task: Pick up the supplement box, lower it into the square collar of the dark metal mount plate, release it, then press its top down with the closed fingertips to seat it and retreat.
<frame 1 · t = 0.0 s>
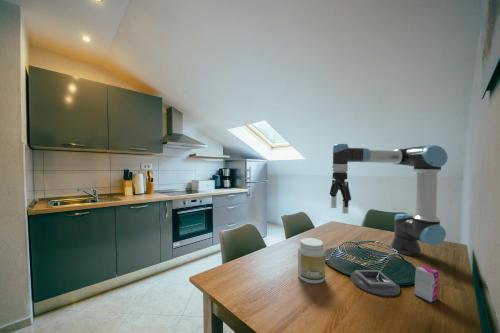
hand: (339, 210, 114), 28 cm above the table, fingers open, 13 cm apart
supplement box: (426, 297, 83), on the table
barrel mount: (374, 283, 93), on the table
supplement tub: (311, 277, 97), on the table
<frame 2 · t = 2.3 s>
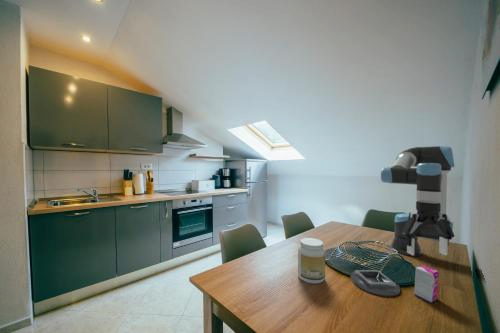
hand: (426, 254, 83), 18 cm above the table, fingers open, 13 cm apart
nothing on the table moved.
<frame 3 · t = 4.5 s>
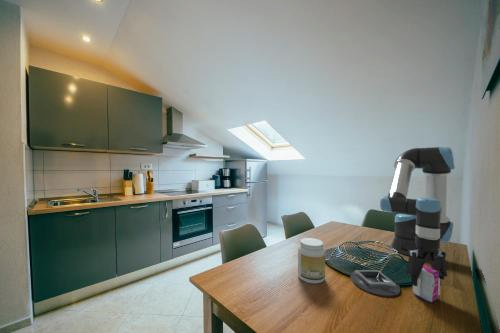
hand: (426, 293, 83), 2 cm above the table, fingers closed on supplement box, 7 cm apart
supplement box: (426, 297, 83), on the table, touching gripper
everything else where it was.
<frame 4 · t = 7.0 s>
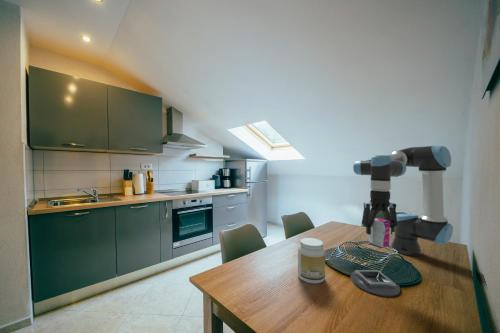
hand: (379, 241, 92), 19 cm above the table, fingers closed on supplement box, 7 cm apart
supplement box: (379, 245, 92), point 17 cm above the table, touching gripper
everything else where it was.
when the fingers open (4 cm above the table, at t = 9.9 s): supplement box stays where it is, resting on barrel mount.
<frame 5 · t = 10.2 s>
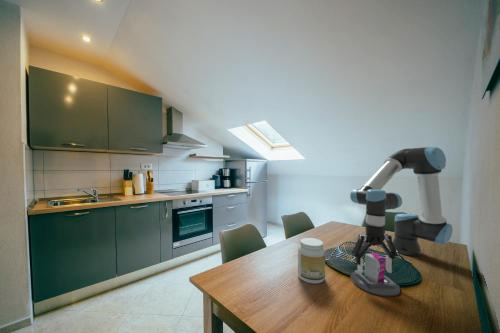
hand: (374, 271, 93), 5 cm above the table, fingers open, 12 cm apart
supplement box: (374, 281, 93), point 1 cm above the table, touching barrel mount
everything else where it was.
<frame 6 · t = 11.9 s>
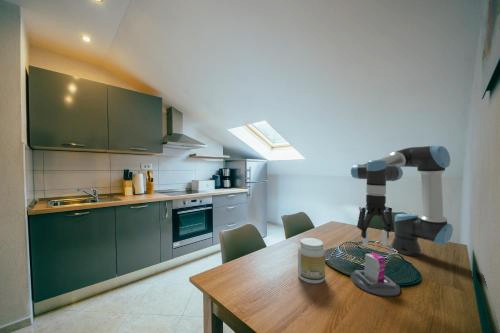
hand: (374, 245, 93), 17 cm above the table, fingers open, 8 cm apart
nothing on the table moved.
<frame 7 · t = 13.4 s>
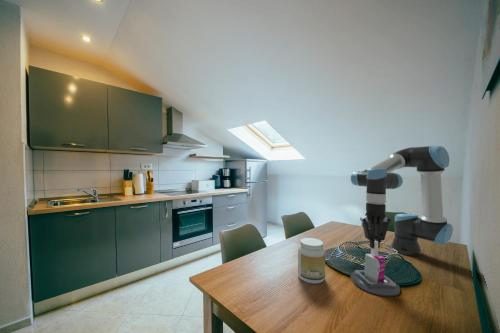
hand: (374, 255, 93), 13 cm above the table, fingers closed
supplement box: (374, 281, 93), point 1 cm above the table, touching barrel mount, gripper
everything else where it was.
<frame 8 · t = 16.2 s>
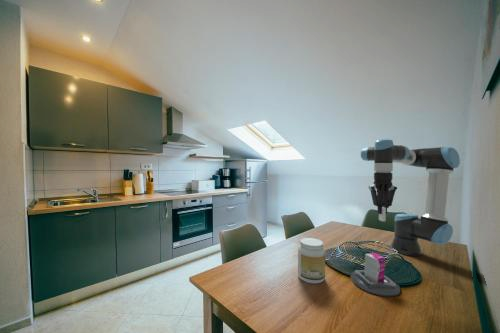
hand: (382, 220, 100), 26 cm above the table, fingers closed
supplement box: (374, 281, 93), point 1 cm above the table, touching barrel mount
everything else where it was.
at the end: supplement box 0.1 cm off-centre on the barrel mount, point 0.8 cm above the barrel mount's base; supplement box tilted 0°; the gripper is holding nothing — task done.
